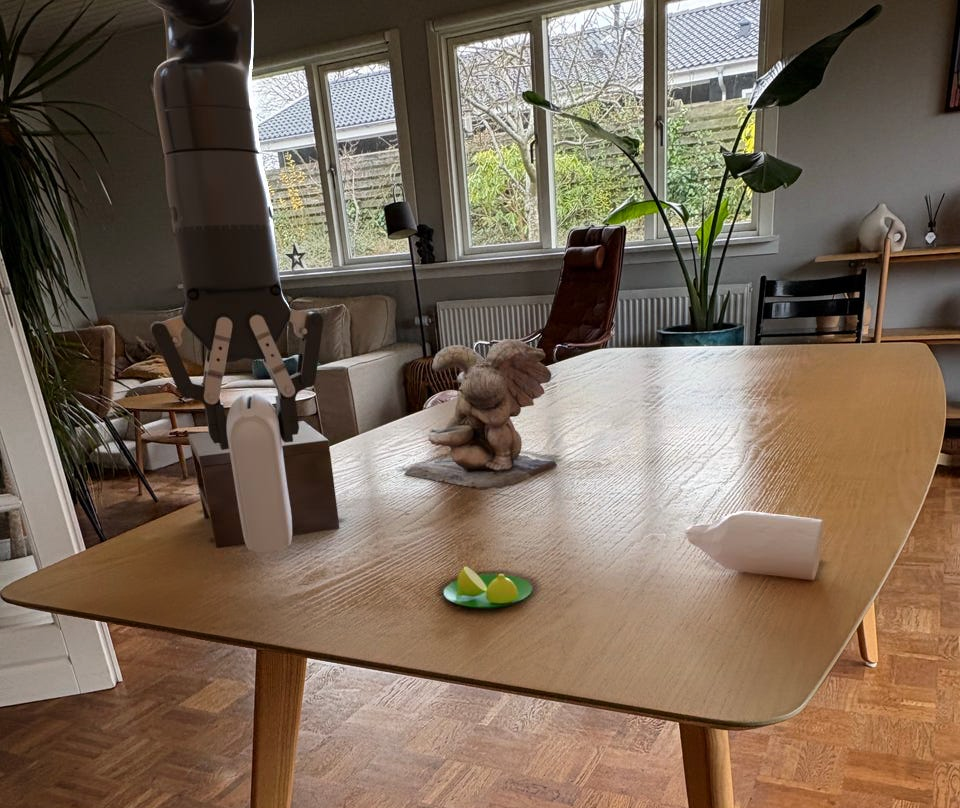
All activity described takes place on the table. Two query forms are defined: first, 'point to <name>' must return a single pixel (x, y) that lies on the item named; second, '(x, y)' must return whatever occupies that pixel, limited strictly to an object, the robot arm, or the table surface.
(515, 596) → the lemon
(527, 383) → the cherub figurine
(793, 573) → the white plastic bottle
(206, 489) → the box
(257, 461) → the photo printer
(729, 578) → the table surface
